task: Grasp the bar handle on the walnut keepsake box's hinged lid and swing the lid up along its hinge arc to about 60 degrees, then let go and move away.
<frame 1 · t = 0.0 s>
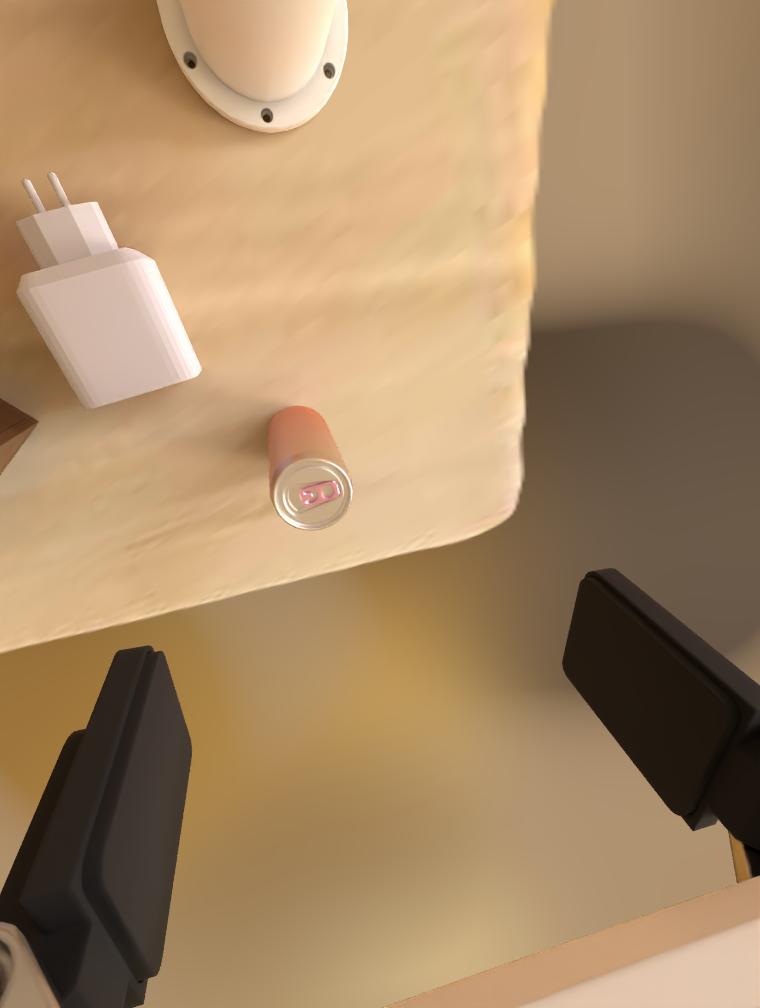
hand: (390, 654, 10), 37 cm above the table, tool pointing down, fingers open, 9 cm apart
beverage can: (298, 433, 45), on the table
charger: (108, 293, 36), on the table
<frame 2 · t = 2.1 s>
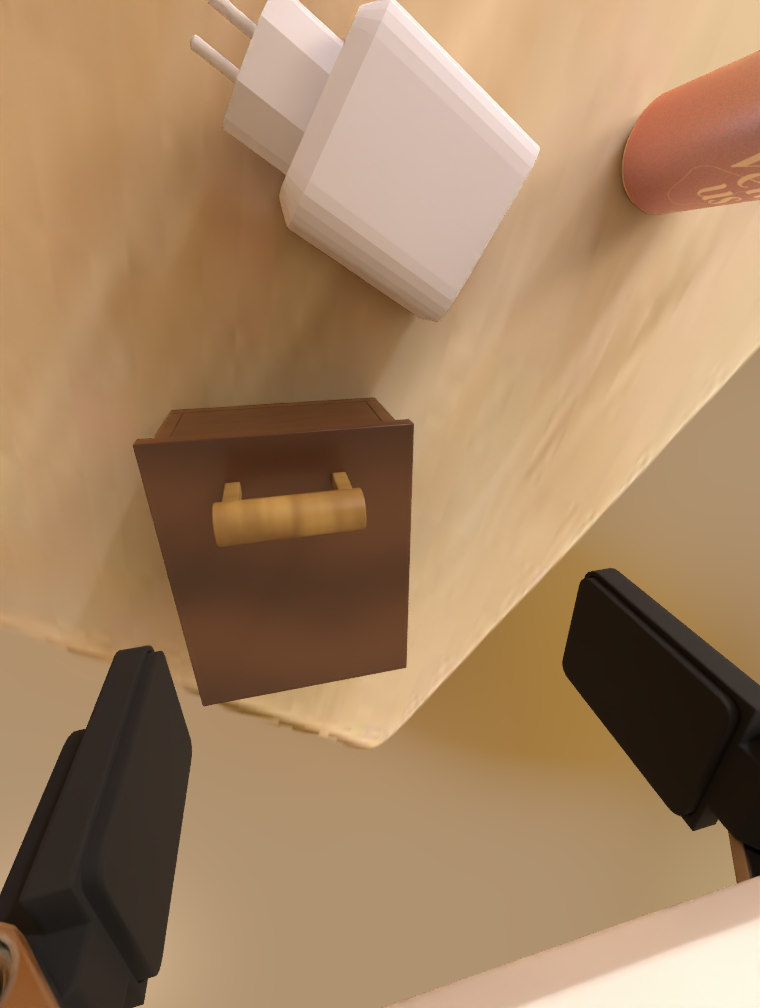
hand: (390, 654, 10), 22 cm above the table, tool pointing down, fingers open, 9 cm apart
beverage can: (657, 158, 27), on the table
charger: (346, 157, 24), on the table
keepsake box: (289, 512, 32), on the table
lid: (300, 599, 23), point 10 cm above the table, hinge at 0.0°
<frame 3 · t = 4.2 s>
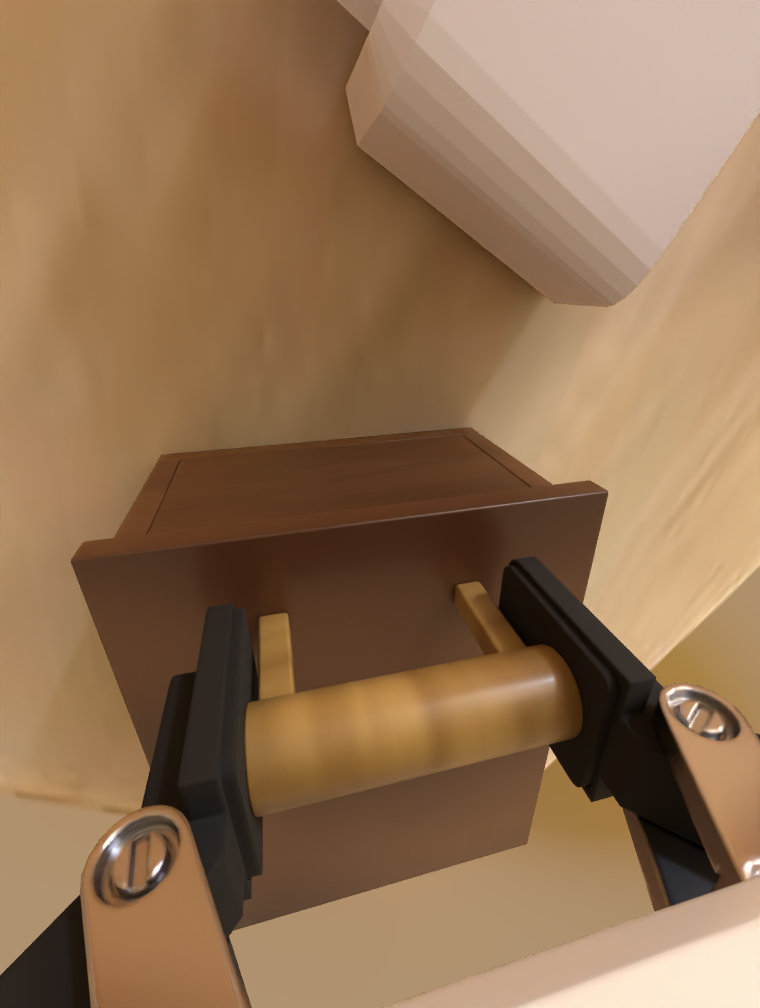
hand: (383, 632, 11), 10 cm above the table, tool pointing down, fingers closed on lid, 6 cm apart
charger: (458, 25, 14), on the table
keepsake box: (337, 594, 22), on the table
lid: (392, 809, 12), point 10 cm above the table, hinge at 0.0°, touching gripper
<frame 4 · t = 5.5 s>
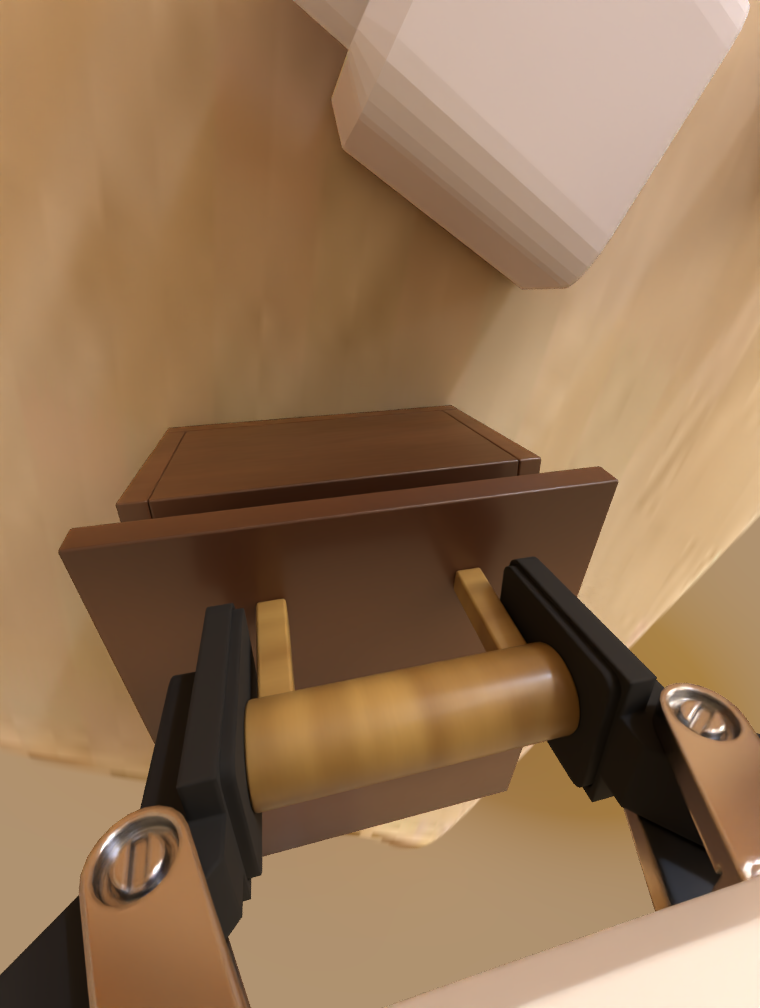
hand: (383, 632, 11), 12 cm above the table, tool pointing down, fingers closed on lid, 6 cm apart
charger: (429, 45, 16), on the table
keepsake box: (331, 563, 23), on the table
lid: (385, 775, 13), point 12 cm above the table, hinge at 9.0°, touching gripper
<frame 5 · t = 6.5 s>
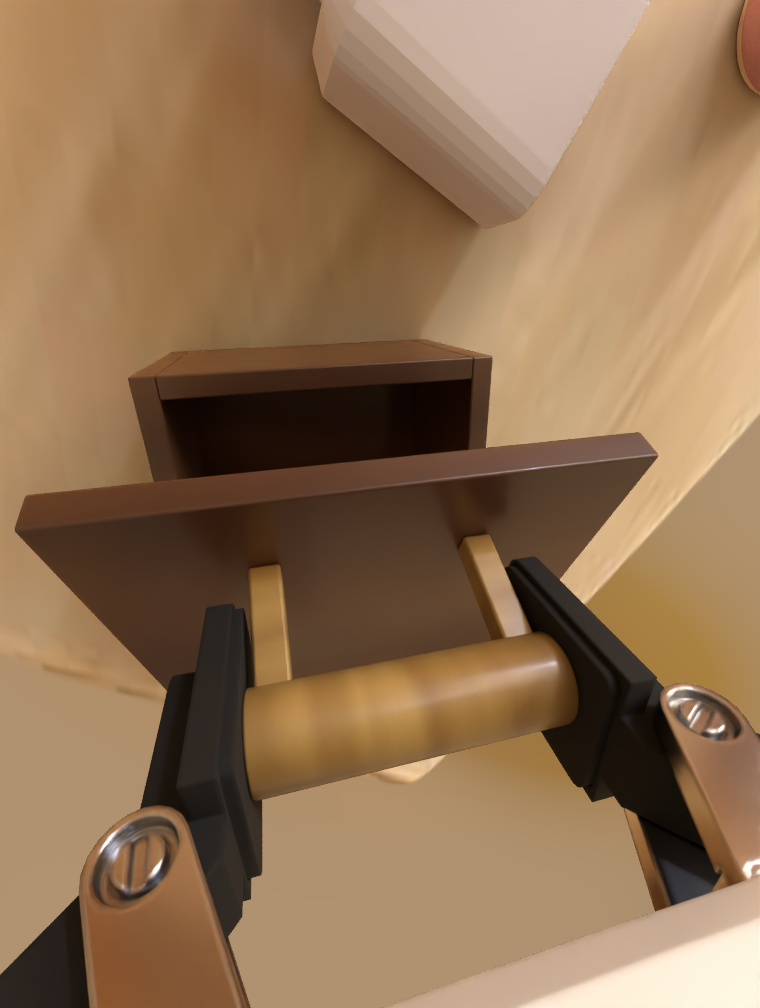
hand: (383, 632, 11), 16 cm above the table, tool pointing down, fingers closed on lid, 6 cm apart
charger: (398, 8, 18), on the table
keepsake box: (318, 489, 26), on the table
lid: (372, 701, 14), point 14 cm above the table, hinge at 27.3°, touching gripper
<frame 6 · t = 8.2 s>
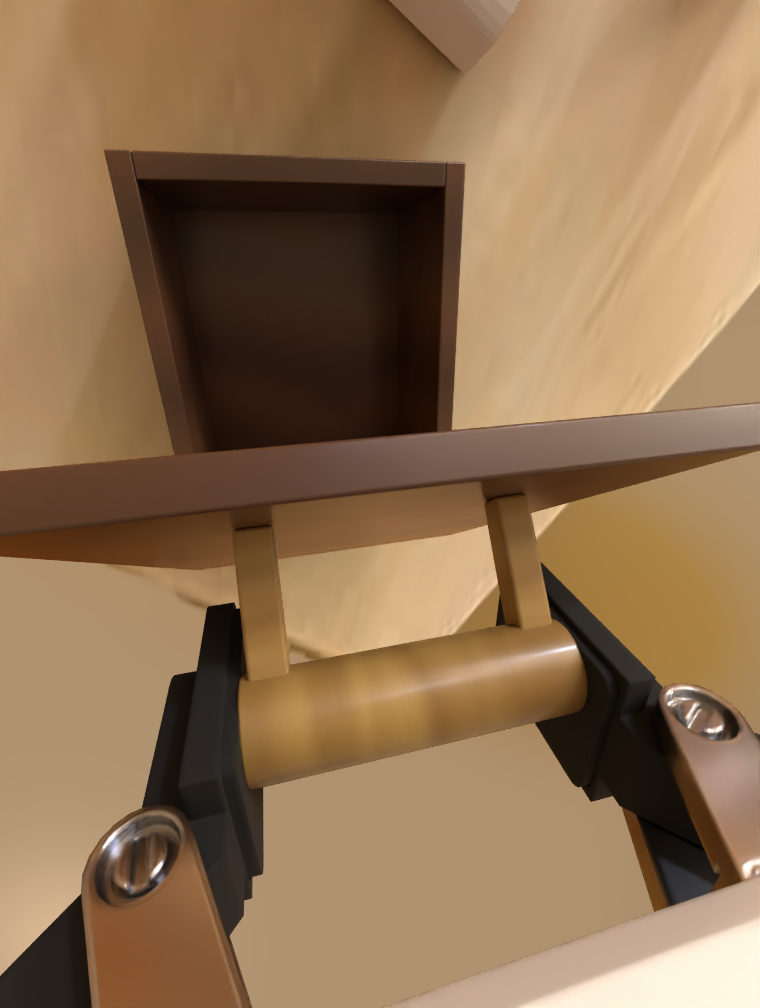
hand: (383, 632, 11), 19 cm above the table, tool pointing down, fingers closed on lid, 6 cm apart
keepsake box: (302, 356, 26), on the table
lid: (359, 592, 14), point 16 cm above the table, hinge at 55.8°, touching gripper
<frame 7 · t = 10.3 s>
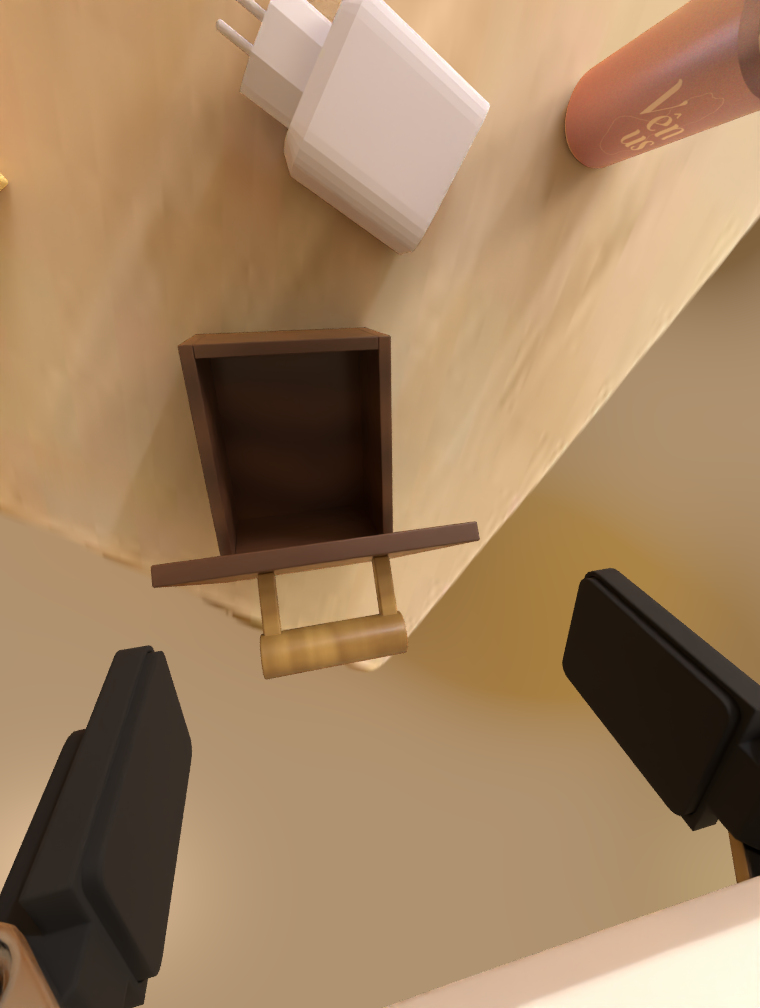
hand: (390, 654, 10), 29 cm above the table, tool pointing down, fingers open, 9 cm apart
beverage can: (595, 121, 33), on the table
charger: (337, 120, 30), on the table
keepsake box: (294, 431, 37), on the table
lid: (322, 598, 25), point 16 cm above the table, hinge at 56.2°
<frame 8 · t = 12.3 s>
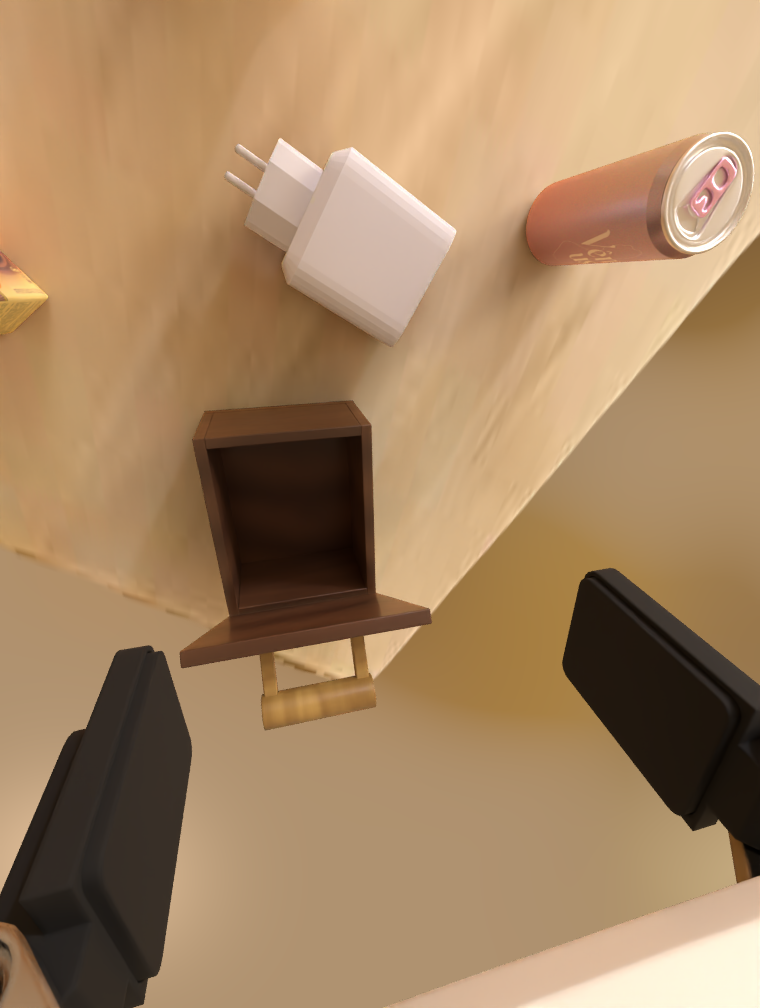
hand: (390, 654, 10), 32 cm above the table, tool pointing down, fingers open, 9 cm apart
beverage can: (553, 225, 38), on the table
charger: (327, 235, 34), on the table
keepsake box: (290, 487, 42), on the table
lid: (312, 651, 30), point 16 cm above the table, hinge at 56.2°
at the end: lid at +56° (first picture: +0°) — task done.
